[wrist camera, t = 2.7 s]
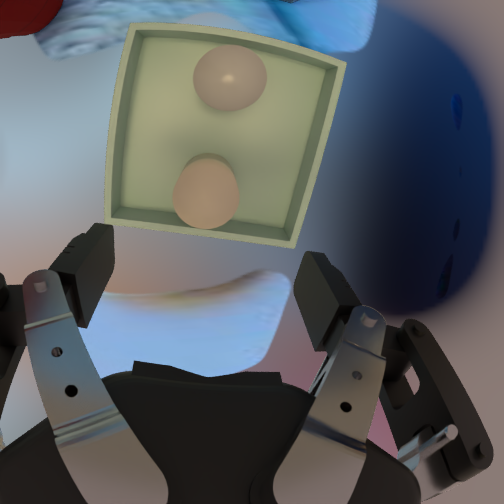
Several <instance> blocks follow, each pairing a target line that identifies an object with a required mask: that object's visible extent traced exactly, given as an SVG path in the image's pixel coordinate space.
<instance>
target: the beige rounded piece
mask: <svg viewBox="0 0 504 504" xmlns="http://www.w3.org/2000/svg"><path fill="white" fill-rule="evenodd" d="M266 82H267V72H266V68H265V65H264V63H263V62H262V60H261V59H260V57H259V56H258V55H257V54H256V53H254V52H253V51H252V50H250V49H248V48H245V47H243V46H239V45H223V46H219V47H216V48H214V49H212V50H210V51H208V52H207V53H206V54H204V55H203V56H202V57H201V59H200V60H199V61H198V63H197V65H196V67H195V69H194V74H193V84H194V88H195V90H196V93H197V94H198V96H199V97H200V98H201V100H202V101H203V102H205V103H206V104H207V105H209V106H211V107H213V108H215V109H218V110H222V111H236V110H240V109H243V108H246V107H248V106H250V105H251V104H253V103H254V102H255V101H257V100H258V98H259V97H260V96H261V95H262V93H263V91H264V89H265V86H266Z"/></svg>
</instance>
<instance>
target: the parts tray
mask: <svg viewBox="0 0 504 504" xmlns="http://www.w3.org/2000/svg"><path fill="white" fill-rule="evenodd" d="M223 45H239V46H243V47H245V48H248V49H250V50H252V51H253V52H254V53H256V54H257V55H258V56H259V57H260V59H261V60H262V62H263V63H264V65H265V68H266V72H267V82H266V86H265V89H264V91H263V93H262V95H261V96H260V97H259V98H258V100H257V101H255V102H254V103H253V104H251V105H250V106H248V107H246V108H243V109H240V110H236V111H222V110H218V109H215V108H213V107H211V106H209V105H207V104H206V103H205V102H203V101H202V100H201V98H200V97H199V96H198V94H197V93H196V90H195V88H194V84H193V74H194V69H195V67H196V65H197V63H198V61H199V60H200V59H201V57H202V56H203V55H204V54H206V53H207V52H208V51H210V50H212V49H214V48H216V47H219V46H223ZM346 64H347V63H346V62H343V61H341V60H338V59H336V58H333V57H331V56H328V55H325V54H323V53H320V52H317V51H314V50H311V49H308V48H305V47H302V46H298V45H295V44H292V43H288V42H285V41H281V40H277V39H273V38H269V37H265V36H261V35H256V34H252V33H247V32H242V31H236V30H230V29H224V28H217V27H210V26H201V25H191V24H177V23H130V26H129V29H128V32H127V36H126V40H125V43H124V47H123V51H122V55H121V60H120V64H119V69H118V74H117V78H116V84H115V89H114V95H113V101H112V108H111V114H110V122H109V130H108V140H107V151H106V165H105V189H104V190H105V191H104V222H105V223H104V224H110V225H118V226H127V227H135V228H142V229H151V230H159V231H167V232H174V233H182V234H190V235H197V236H205V237H213V238H220V239H228V240H235V241H243V242H250V243H257V244H265V245H272V246H279V247H286V248H295V245H296V242H297V239H298V236H299V233H300V230H301V227H302V224H303V220H304V217H305V214H306V211H307V207H308V204H309V201H310V198H311V194H312V191H313V188H314V184H315V181H316V178H317V174H318V171H319V167H320V164H321V160H322V157H323V153H324V149H325V146H326V142H327V139H328V135H329V131H330V128H331V124H332V120H333V117H334V113H335V109H336V105H337V101H338V97H339V93H340V89H341V85H342V81H343V77H344V72H345V69H346ZM202 153H214V154H218V155H220V156H222V157H223V158H225V159H226V160H227V161H228V162H229V163H230V165H231V166H232V168H233V171H234V175H235V179H236V182H237V186H238V190H239V205H238V208H237V210H236V212H235V214H234V215H233V217H232V218H231V219H230V220H229V221H228V222H226V223H225V224H223V225H221V226H219V227H216V228H212V229H199V228H195V227H192V226H190V225H188V224H187V223H185V222H184V221H183V220H182V219H181V218H180V217H179V216H178V215H177V213H176V211H175V209H174V206H173V200H172V195H173V190H174V187H175V184H176V182H177V180H178V178H179V176H180V174H181V172H182V170H183V168H184V166H185V165H186V163H187V162H188V161H189V160H190V159H191V158H193V157H194V156H196V155H199V154H202Z"/></svg>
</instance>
